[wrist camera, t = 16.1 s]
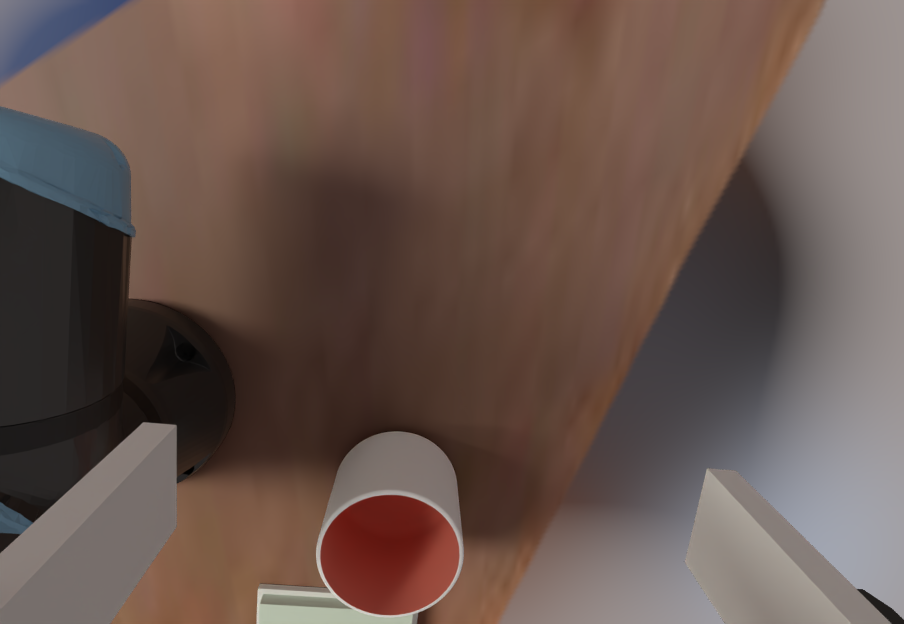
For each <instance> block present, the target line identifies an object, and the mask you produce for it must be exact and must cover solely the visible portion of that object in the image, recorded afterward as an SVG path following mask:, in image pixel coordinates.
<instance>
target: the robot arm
mask: <svg viewBox="0 0 904 624" xmlns="http://www.w3.org/2000/svg"><path fill="white" fill-rule="evenodd" d="M135 233H136V230H135V228H134V226H133V225H132V224H131V171H130V167H129V164H128V161H127V159H126V157H125V156H124V154H123V153H122V151H121V150H120V149H119V148H118V147H117V146H116V145H115V144H113V143H112V142H111V141H110V140H108V139H106V138H105V137H103V136H101V135H98V134H95V133H92V132H89V131H86V130H83V129H80V128H76V127H73V126H69V125H66V124H62V123H59V122H55V121H52V120H48V119H45V118H41V117H37V116H34V115H30V114H27V113H23V112H19V111H16V110H12V109H8V108H5V107H1V106H0V624H110V623H111V622H112V620H113V619H114V617H115V616H116V614H117V613H118V611H119V610H120V608H121V607H122V606H123V604H124V603H125V601H126V600H127V598H128V597H129V595H130V594H131V592H132V591H133V589H134V588H135V587H136V585H137V584H138V582H139V581H140V579H141V578H142V576H143V575H144V573H145V572H146V571H147V569H148V568H149V566H150V565H151V563H152V562H153V560H154V559H155V557H156V556H157V555H158V553H159V552H160V550H161V549H162V547H163V546H164V544H165V543H166V541H167V540H168V538H169V537H170V536H171V534H172V533H173V531H174V530H175V528H176V527H177V483H179V482H181V481H183V480H185V479H186V478H188V477H190V476H191V475H192V474H194V473H195V472H196V471H198V470H199V469H200V468H201V467H202V466H203V465H204V464H205V463H206V462H207V461H208V460H209V459H210V458H211V456H212V455H213V454H214V452H215V451H216V450H217V448H218V447H219V446H220V444H221V443H222V441H223V440H224V438H225V436H226V435H227V433H228V430H229V428H230V426H231V423H232V419H233V415H234V409H235V388H234V382H233V378H232V374H231V371H230V368H229V366H228V363H227V361H226V359H225V357H224V355H223V354H222V352H221V350H220V349H219V347H218V346H217V345H216V343H215V342H214V341H213V340H212V338H211V337H210V336H209V335H208V334H207V333H206V332H205V331H204V330H203V329H202V328H201V327H200V326H198V325H197V324H196V323H195V322H193V321H192V320H190V319H189V318H187V317H186V316H184V315H182V314H181V313H179V312H177V311H175V310H173V309H170V308H168V307H165V306H163V305H160V304H156V303H153V302H148V301H143V300H134V299H128V297H129V278H130V259H131V240H132V237H135ZM685 563H686V565H687V566H688V568H689V569H690V571H691V573H692V574H693V576H694V577H695V579H696V580H697V582H698V583H699V585H700V586H701V588H702V589H703V591H704V592H705V594H706V595H707V597H708V599H709V600H710V602H711V603H712V604H713V606H714V608H715V609H716V611H717V612H718V614H719V615H720V617H721V618H722V620H723V621H724V623H725V624H904V620H903V619H902V618H901V617H900V616H899V615H898V614H897V613H896V612H895V611H894V610H893V609H892V608H890V607H889V606H887V605H886V604H884V603H883V602H881V601H880V600H878V599H877V598H875V597H874V596H872V595H871V594H869V593H868V592H866V591H865V590H863V589H856V588H855V587H854V586H853V585H852V584H851V583H850V582H849V581H848V580H847V579H846V578H845V577H844V576H843V575H841V573H840V572H838V571H837V570H836V569H835V568H834V567H833V566H832V565H831V564H830V563H829V562H828V561H827V560H826V559H825V558H824V557H823V556H822V555H821V554H820V553H819V552H818V551H817V550H816V549H815V548H814V547H813V546H812V545H811V544H810V543H809V542H808V541H807V540H806V539H805V538H804V537H803V536H802V535H801V534H800V533H799V532H798V531H797V530H796V529H795V528H794V527H793V526H792V525H791V524H790V523H789V522H788V521H787V520H785V518H784V517H783V516H782V515H780V514H779V513H778V512H777V511H776V510H775V509H774V508H773V507H772V506H771V505H770V504H769V503H768V502H767V501H766V500H765V499H764V498H763V497H762V496H761V495H760V494H759V493H758V492H757V491H756V490H755V489H754V488H753V487H752V486H751V485H750V484H749V483H748V482H747V481H746V480H745V479H744V478H743V477H742V476H741V475H740V474H739V473H738V472H737V471H733V470H721V469H708V468H707V471H706V475H705V479H704V483H703V488H702V492H701V496H700V501H699V504H698V509H697V513H696V517H695V521H694V526H693V530H692V534H691V539H690V543H689V547H688V551H687V555H686V559H685Z"/></svg>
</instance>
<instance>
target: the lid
mask: <svg viewBox="0 0 904 624" xmlns="http://www.w3.org/2000/svg"><path fill="white" fill-rule="evenodd" d="M412 619H413V614H412V615H408V616H403V617H394V618H384V617H375V616H371V615H367V614H364V613H360V612H358V611H356V610H354V609H352V608H350V607H348V606H346V605H345V604H343V603H342V602H341V601H339V600H338V599H337V598H325V597H308V596H291V595H274V594H263V596H262V599H261V602H260V607H259V624H412Z"/></svg>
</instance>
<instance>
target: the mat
mask: <svg viewBox="0 0 904 624" xmlns="http://www.w3.org/2000/svg"><path fill="white" fill-rule="evenodd" d="M263 594H274V595H291V596H308V597H325V598H336V597H335V596H334V595H333V594H332V593H331V592H330V591H329V589H328V588H320V587H304V586H289V585H273V584H260V585H259V587H258V600H257V624H259V607H260V602H261V599H262V596H263ZM417 619H418V613H415V614H413V619H412V624H417Z"/></svg>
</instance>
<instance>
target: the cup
mask: <svg viewBox="0 0 904 624" xmlns="http://www.w3.org/2000/svg"><path fill="white" fill-rule="evenodd" d="M463 558H464V546H463V537H462V527H461V517H460V507H459V497H458V487H457V479H456V474H455V471H454V468H453V466H452V464H451V462H450V461H449V459H448V457H447V456H446V455H445V453H444V452H443V451H442V450H441V449H440V448H439V447H438V446H437V445H435V444H434V443H433V442H431V441H430V440H428V439H426V438H424V437H422V436H419V435H417V434H413V433H409V432H401V431H393V432H384V433H380V434H376V435H373V436H371V437H369V438H367V439H365V440H363V441H362V442H360V443H359V444H357V445H356V446H355V447H354V448H352V449H351V451H350V452H349V453H348V454H347V455H346V456H345V458H344V459H343V461H342V463H341V464H340V466H339V469H338V471H337V474H336V478H335V481H334V485H333V489H332V492H331V496H330V499H329V503H328V506H327V510H326V513H325V517H324V520H323V524H322V527H321V531H320V534H319V538H318V542H317V548H316V559H317V566H318V570H319V573H320V575H321V578H322V580H323V582H324V583H325V585H326V586H327V588H328V589H329V591H330V592H331V593H332V594H333V595H334V596H335V597H336V598H337V599H338V600H339V601H341V602H342V603H343V604H345V605H346V606H348V607H350V608H352V609H354V610H356V611H358V612H360V613H364V614H367V615H371V616H375V617H384V618H394V617H403V616H408V615H412V614H415V613H418V612H421V611H423V610H425V609H427V608H429V607H431V606H433V605H434V604H436V603H437V602H438V601H440V600H441V599H442V598H443V597H444V596H445V595H446V594H447V593H448V592H449V591H450V590H451V588H452V587H453V586H454V584H455V582H456V581H457V579H458V577H459V574H460V572H461V568H462V565H463Z"/></svg>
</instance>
